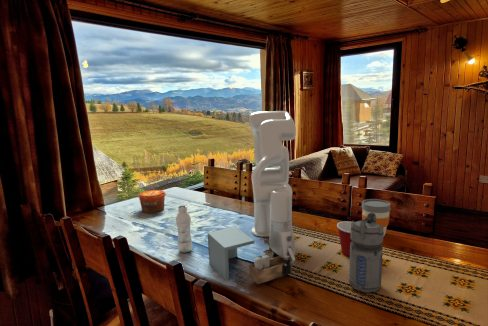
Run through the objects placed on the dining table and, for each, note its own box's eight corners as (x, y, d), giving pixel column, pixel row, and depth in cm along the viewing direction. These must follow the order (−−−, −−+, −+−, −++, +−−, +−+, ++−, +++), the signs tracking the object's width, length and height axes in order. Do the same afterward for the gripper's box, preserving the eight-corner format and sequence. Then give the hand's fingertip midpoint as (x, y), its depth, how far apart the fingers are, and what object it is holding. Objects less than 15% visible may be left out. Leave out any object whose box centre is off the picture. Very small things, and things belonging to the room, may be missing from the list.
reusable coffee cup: (358, 236, 154) (359, 205, 151) (362, 226, 165) (363, 197, 162) (388, 240, 148) (389, 208, 145) (390, 230, 159) (392, 200, 156)
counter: (236, 255, 138) (234, 226, 136) (255, 271, 124) (254, 240, 122) (209, 262, 133) (207, 232, 131) (226, 280, 119) (224, 247, 117)
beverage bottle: (385, 280, 116) (389, 212, 111) (375, 299, 105) (379, 224, 101) (356, 272, 122) (358, 207, 117) (344, 289, 111) (346, 218, 107)
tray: (282, 265, 125) (282, 247, 123) (291, 273, 119) (291, 254, 118) (249, 276, 118) (249, 257, 117) (258, 284, 113) (257, 264, 111)
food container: (139, 207, 206) (137, 191, 204) (165, 204, 211) (164, 188, 209) (139, 215, 191) (137, 197, 189) (167, 212, 196) (166, 194, 194)
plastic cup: (357, 262, 130) (358, 233, 127) (331, 254, 137) (332, 226, 134) (367, 252, 138) (369, 224, 135) (343, 245, 145) (343, 219, 142)
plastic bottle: (178, 255, 140) (175, 210, 136) (177, 248, 146) (174, 205, 142) (193, 253, 141) (191, 208, 138) (191, 246, 148) (189, 203, 144)
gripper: (304, 229, 111) (304, 278, 115) (276, 214, 126) (276, 257, 130) (286, 234, 108) (286, 284, 112) (259, 217, 123) (260, 262, 127)
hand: (281, 269), depth 121 cm, fingers closed on tray, 6 cm apart
